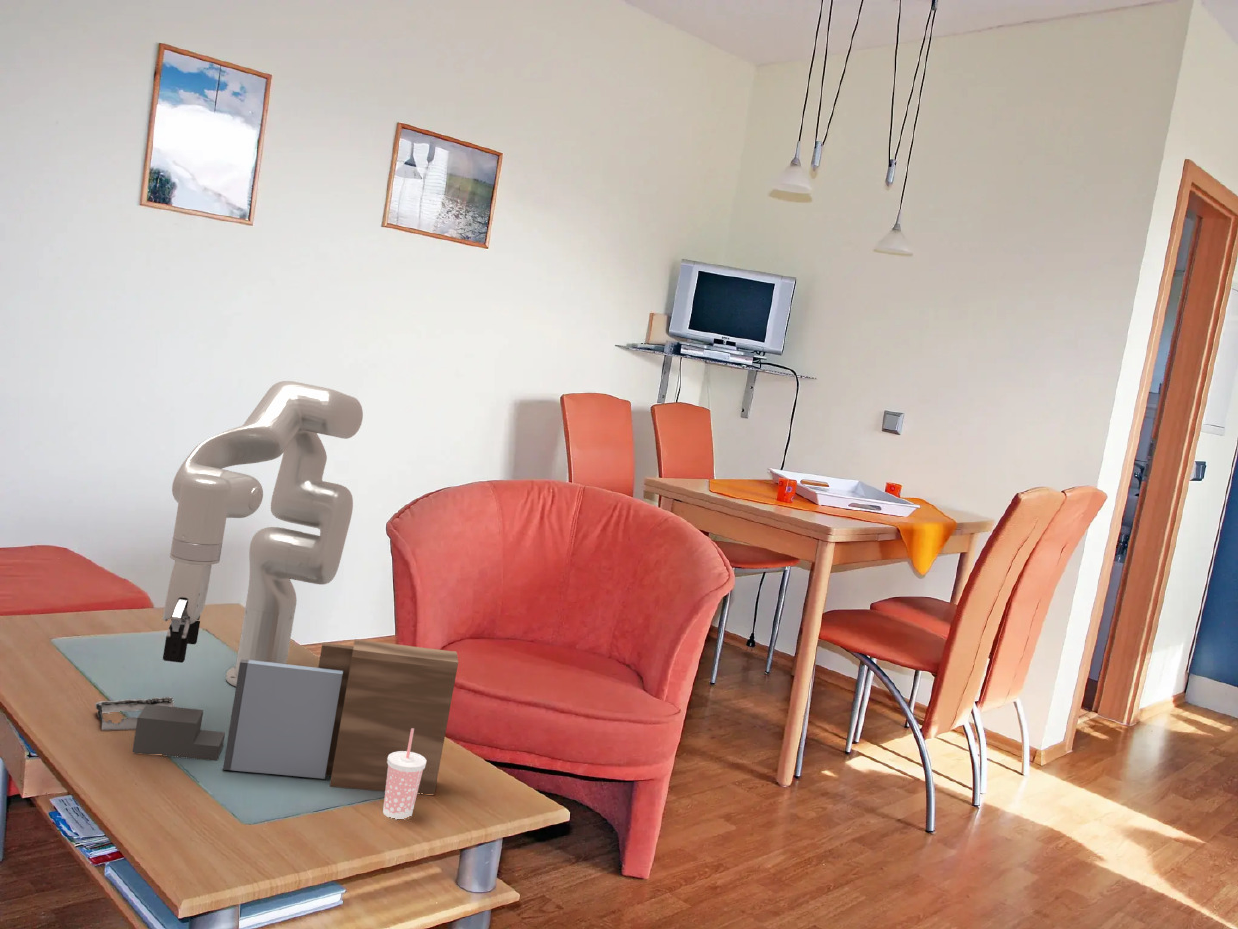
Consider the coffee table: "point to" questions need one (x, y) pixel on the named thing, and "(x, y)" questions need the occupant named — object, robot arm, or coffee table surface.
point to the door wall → (387, 710)
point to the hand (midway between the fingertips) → (180, 651)
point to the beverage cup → (402, 782)
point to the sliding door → (282, 719)
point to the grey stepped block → (175, 733)
